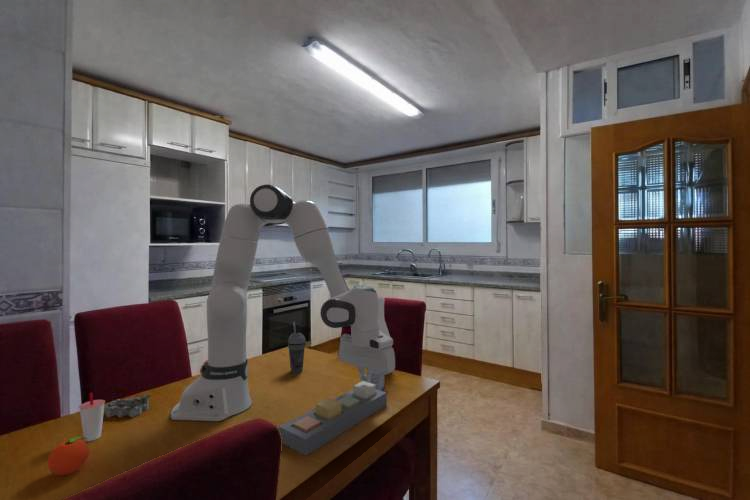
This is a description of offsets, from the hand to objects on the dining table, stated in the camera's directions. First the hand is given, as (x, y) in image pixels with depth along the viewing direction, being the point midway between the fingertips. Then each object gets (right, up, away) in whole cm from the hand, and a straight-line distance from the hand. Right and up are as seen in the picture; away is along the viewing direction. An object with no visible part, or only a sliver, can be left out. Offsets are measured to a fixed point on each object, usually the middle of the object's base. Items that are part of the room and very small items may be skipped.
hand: (365, 381), depth 111 cm
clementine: (-65, -8, -32) cm, 73 cm away
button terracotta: (-15, -7, -19) cm, 25 cm away
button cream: (0, -5, 0) cm, 5 cm away
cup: (-71, -8, -19) cm, 74 cm away
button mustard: (-10, -5, -13) cm, 17 cm away
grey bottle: (+5, -8, +30) cm, 32 cm away
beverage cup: (-29, -8, +31) cm, 43 cm away
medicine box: (+3, -8, +12) cm, 15 cm away
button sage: (-5, -7, -7) cm, 11 cm away
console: (-8, -8, -10) cm, 15 cm away
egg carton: (-72, -8, -4) cm, 73 cm away
